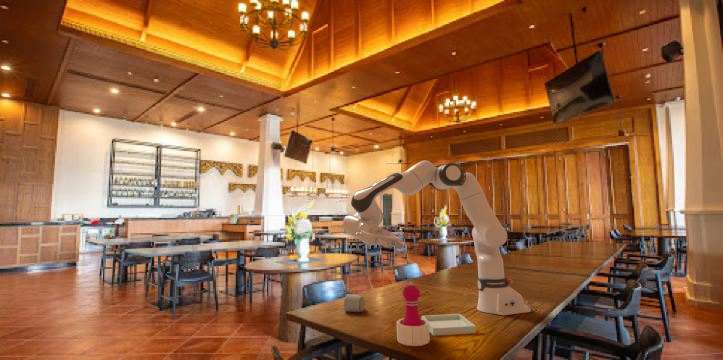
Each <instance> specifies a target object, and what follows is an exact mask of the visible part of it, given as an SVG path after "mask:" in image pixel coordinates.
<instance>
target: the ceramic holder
mask: <svg viewBox="0 0 723 360" xmlns="http://www.w3.org/2000/svg"><path fill="white" fill-rule="evenodd" d="M404 318H405V317H403V318H398V320H396V340H397V342H398V343H399V344H401V345H404V346H408V347H409V346H410V347H420V346H425V345H427V344H429V343H430V341H431V336H430V335H431V332H430V331H429V322H428V321H427V320H425V319H422V317H420V318H421V321H422V323H423V325H421V326H405V325H403V320H404Z"/></svg>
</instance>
